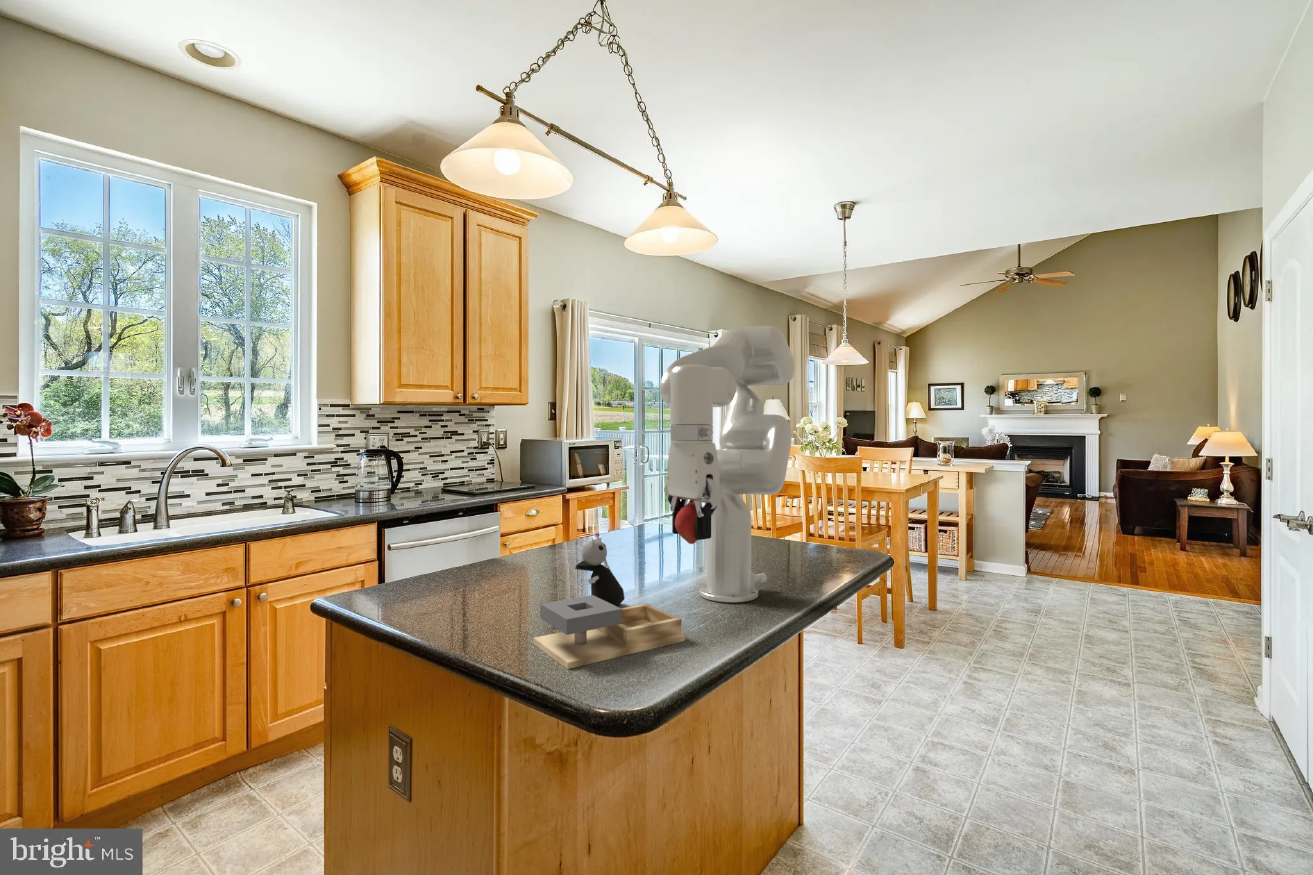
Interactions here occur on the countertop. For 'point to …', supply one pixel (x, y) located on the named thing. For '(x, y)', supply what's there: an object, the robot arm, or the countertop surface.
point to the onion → (687, 522)
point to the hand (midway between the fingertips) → (691, 534)
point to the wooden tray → (614, 637)
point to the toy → (600, 572)
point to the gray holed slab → (580, 614)
